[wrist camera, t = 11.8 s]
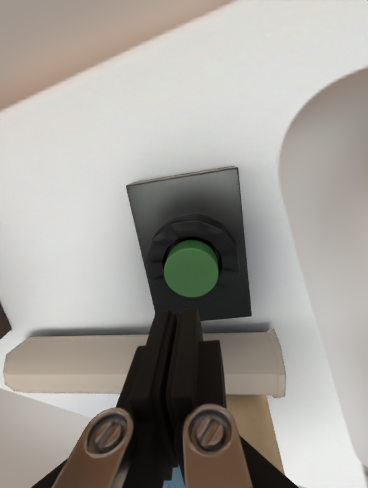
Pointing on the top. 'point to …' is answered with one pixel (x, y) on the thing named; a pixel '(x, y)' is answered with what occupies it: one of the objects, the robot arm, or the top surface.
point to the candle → (255, 425)
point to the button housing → (194, 237)
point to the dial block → (3, 324)
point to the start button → (191, 268)
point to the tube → (120, 358)
